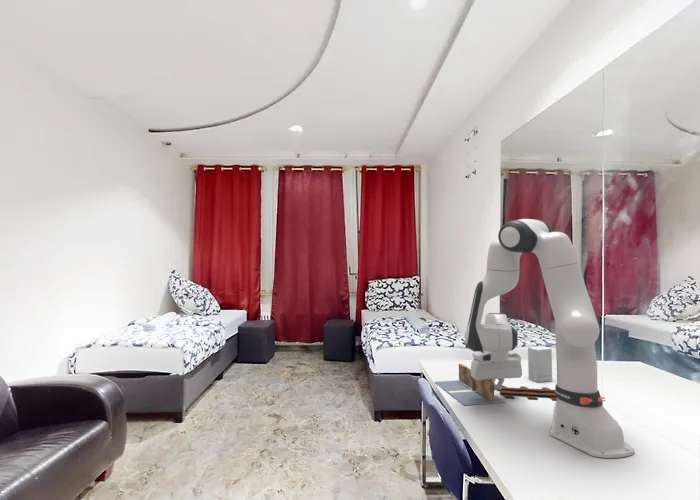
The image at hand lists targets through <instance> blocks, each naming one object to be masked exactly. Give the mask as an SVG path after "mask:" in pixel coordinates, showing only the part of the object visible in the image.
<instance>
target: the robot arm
mask: <svg viewBox="0 0 700 500" xmlns="http://www.w3.org/2000/svg"><path fill="white" fill-rule="evenodd" d="M497 236H498V237H497V238H495V239H494V240H492V241H491V242H490V244H489V247H488V253H487V259H486V273H485V275H484V277H483V279H482V280H481V281H479V282H478V283H477V284H476V286H475V290H474V293H473V299H472V303H471V308H470V313H469V317H468V322H467V327H466V329H465V333H464V343H465V345H466V346H467V348H469V350H471V351H473V352H472V360H471V364H470V369H471V376H472V378H474V379H475V380H487V379H489V380H491V381H492V382H494V391H500V390H501V386H502V385H503V384H504V382H505V379H519V378H522V376H523V369H522V356H521V355H520V354H518V353H516V352H514V353H511V352H512V351H514V350H515V349H516V348H517V346H519V345H518V343H519V342H518V338H519V337H518V331H517V330H516V329H515V328H514V327H513V326H511V325H509V322H508V317H507V315H506V314H505V313H501V312H490V313H487V314H486V315H485V319H484V324H482V319H483V314H484V309H485V307H486V306H485V305H486V304H487V302H489V301H490V300H491V299H494V298H496V297H499V296H502V295H505V294H508V293H509V292H511V291H512V290H513V289H515V288H516V286H518V283H519V279H520V263H521V262H520V259H521V256H522V254H530V253H533V254H534V255H536V257H537V259H538V264H539V267H540V270H541V274H542V278H543V279H542V280H543V282H544V286H545V290H546V293H547V297H548V300H549V304H550V307H551V311H552V316H553V318H554V331H555V332H554V333H555V335H554V336H555V356H556V384H555V387H554V390H555V396H556V397H557V400H556V401H555V404H554V407H553V415H552V426H551V429H550V430H549V435H550V437H554V439H557V440H559V441H561V442H563V443H565V444H567V445H569V446H571V447H574V448H575V449H578V450H579V451H581V452H584V453H585V454H588V455H590V456H592V457H596V458H603V459H617V458H624V457H629V456H632V455H634V454H635V448H634V447H633V446H631V445H630V444H628V443H627V442H626V441H625V440H624V439H625V437H624V432H623V429H622V427H621V426H620V424H619V423H618V421H617V420H615V418H614V417H613V416H612V415H611V414H610V412H608V410H607V409H606V408H605V407H604V406H603V405H604V403H603V402H606V400H605V399H606V397H605V396H604V397H602V396H601V393H600V390H599V389H598V362H597V355H596V354H597V353H596V346H595V345H596V344H595V343H596V342H597V340H598V339H599V335H600V325H599V322H598V319H597V316H596V313H595V310H594V307H593V304H592V301H591V298H590V296H589V292H588V289H587V286H586V284H585V283H586V282H585V278H584V275H583V272H582V268H581V265H580V261H579V257H578V255H577V252H576V250H575V247H574V245H573V243H572V241H571V239H570V237H569V236H568V234H566V233H564V232H562V231H553V229H552V227H551V225H550V224H549V223H548V222H546V221H545V220H542V219H539V218H538V219H537V218H532V219H531V218H521V219H514V220H510V221H508V222H506V223H504V224H503V225H502V226H501V227H500V229H499V230H498V235H497ZM496 380H497V384H496V383H495V382H496Z"/></svg>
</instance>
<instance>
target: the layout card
mask: <svg viewBox="0 0 700 500" xmlns="http://www.w3.org/2000/svg"><path fill="white" fill-rule="evenodd" d="M434 384H435V385H437V386H438V387H439V388H441V389H442V390H443V391H445V392H446V393H447V394H448V395H449V396H451V397H452V398H454V399H455V400H456V401H458V402H459V403H460V404H461V405H463V406H464V407H465V406H467V407H468V406H479V405H481V406H482V405H492V404H506V403H507V402H506V401H505V400H504V399H502V398H500V397H499V396H497V395H495V394H494V401H490V400H489V399H487V398H486V397H484V396H483V395H481V394H480V393H478V392H477V391H473V390H472V388H471V387H469V386H468V385H466V384H465V383H463V382H462V381H460V380H459V379H457V380H441V381H434Z"/></svg>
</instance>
